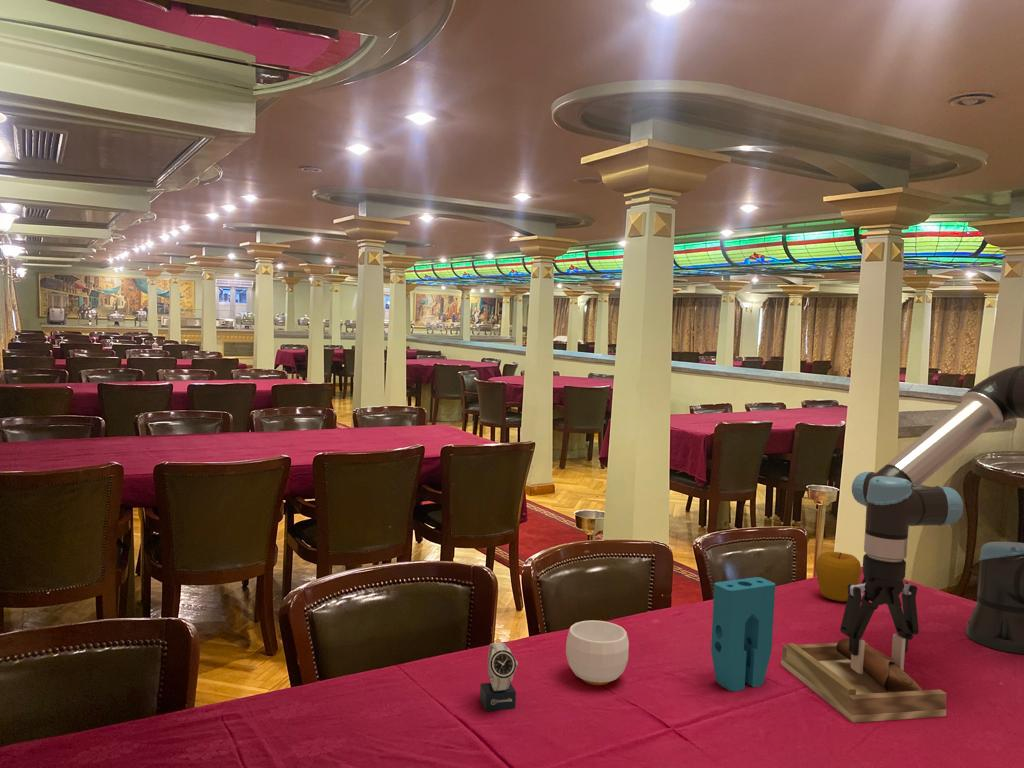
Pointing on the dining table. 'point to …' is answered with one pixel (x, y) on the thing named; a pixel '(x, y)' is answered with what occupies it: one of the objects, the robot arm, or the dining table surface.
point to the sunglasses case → (881, 669)
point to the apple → (837, 574)
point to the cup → (597, 651)
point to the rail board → (856, 686)
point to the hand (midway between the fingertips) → (876, 669)
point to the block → (742, 631)
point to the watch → (499, 679)
